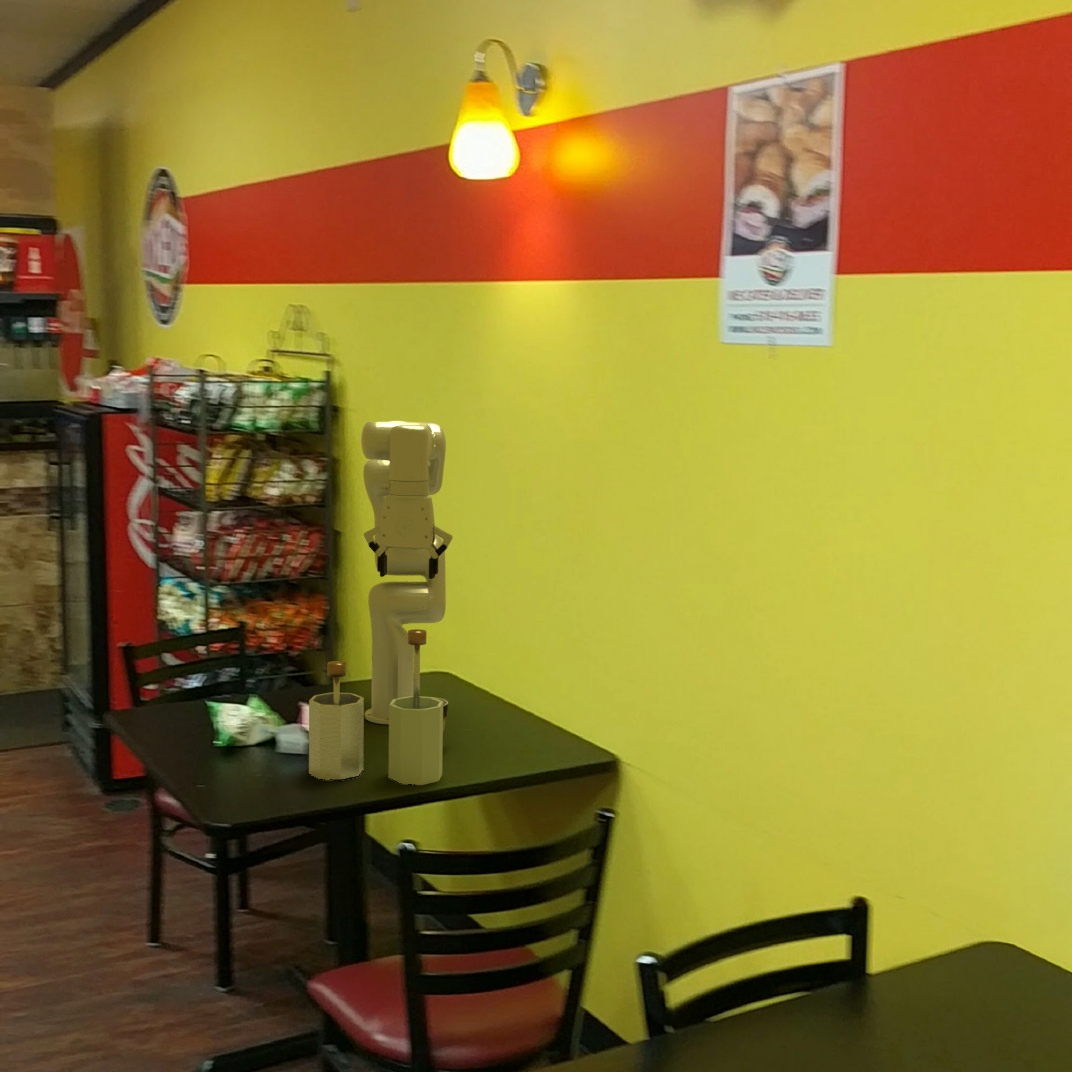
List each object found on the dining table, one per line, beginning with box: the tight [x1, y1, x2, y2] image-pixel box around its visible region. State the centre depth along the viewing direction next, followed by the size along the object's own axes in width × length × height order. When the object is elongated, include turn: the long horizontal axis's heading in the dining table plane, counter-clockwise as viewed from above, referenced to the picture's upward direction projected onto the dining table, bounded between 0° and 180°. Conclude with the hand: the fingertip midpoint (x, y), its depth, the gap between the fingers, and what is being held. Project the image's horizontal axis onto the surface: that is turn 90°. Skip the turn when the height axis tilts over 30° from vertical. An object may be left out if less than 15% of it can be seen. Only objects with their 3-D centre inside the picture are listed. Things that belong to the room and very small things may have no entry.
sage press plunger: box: [406, 628, 427, 709], centre depth 258 cm, size 8×8×17 cm
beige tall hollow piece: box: [308, 691, 365, 781], centre depth 262 cm, size 10×10×15 cm
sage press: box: [388, 696, 444, 786], centre depth 260 cm, size 10×10×15 cm
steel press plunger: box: [326, 660, 347, 705], centre depth 261 cm, size 8×8×17 cm
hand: (407, 576), depth 256 cm, fingers open, 9 cm apart
